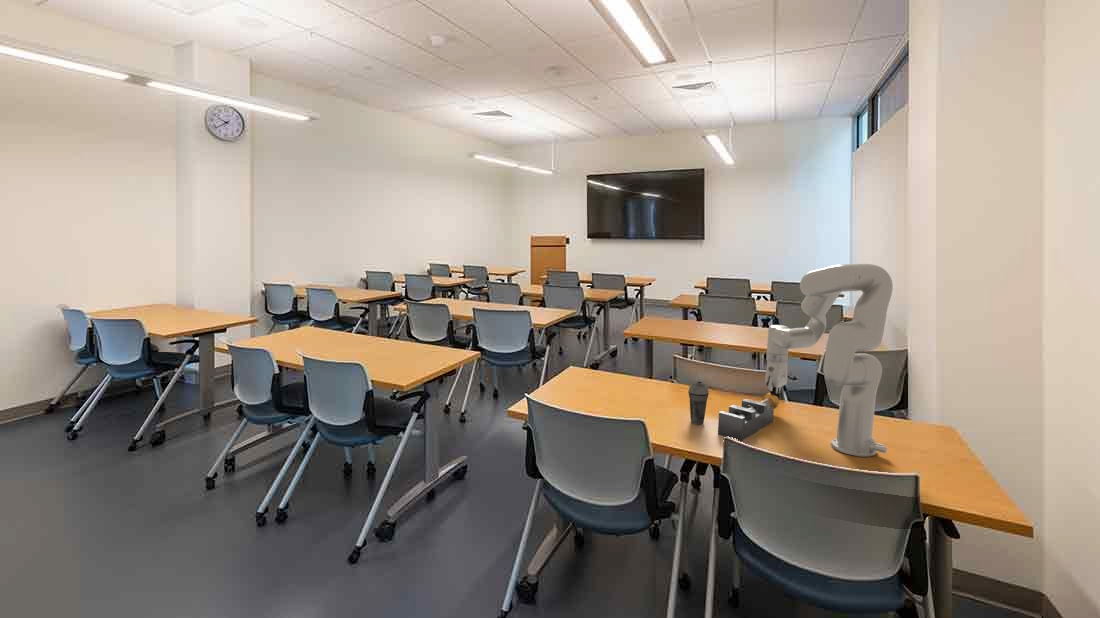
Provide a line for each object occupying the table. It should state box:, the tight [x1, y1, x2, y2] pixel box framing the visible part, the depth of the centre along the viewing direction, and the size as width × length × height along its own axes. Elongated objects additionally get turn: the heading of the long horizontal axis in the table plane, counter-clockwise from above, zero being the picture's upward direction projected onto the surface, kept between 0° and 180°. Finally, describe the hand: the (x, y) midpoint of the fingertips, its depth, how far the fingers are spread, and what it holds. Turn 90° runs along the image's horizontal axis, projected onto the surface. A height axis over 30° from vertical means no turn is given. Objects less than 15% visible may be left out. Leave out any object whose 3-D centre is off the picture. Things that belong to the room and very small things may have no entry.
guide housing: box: [717, 398, 775, 442], centre depth 177 cm, size 8×26×8 cm, turn 134°
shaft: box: [738, 392, 780, 417], centre depth 182 cm, size 6×25×6 cm, turn 134°
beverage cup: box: [688, 370, 710, 426], centre depth 181 cm, size 7×7×20 cm
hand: (774, 402), depth 193 cm, fingers closed
